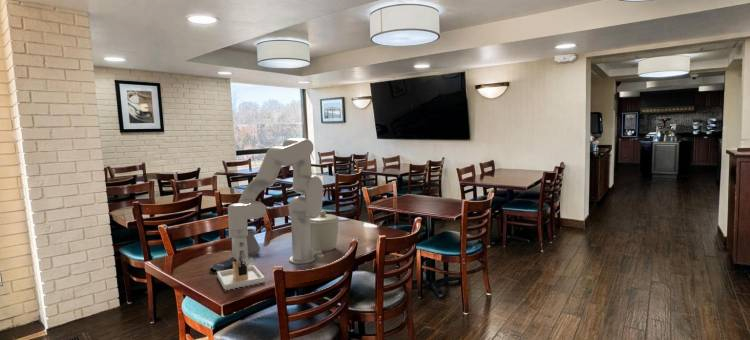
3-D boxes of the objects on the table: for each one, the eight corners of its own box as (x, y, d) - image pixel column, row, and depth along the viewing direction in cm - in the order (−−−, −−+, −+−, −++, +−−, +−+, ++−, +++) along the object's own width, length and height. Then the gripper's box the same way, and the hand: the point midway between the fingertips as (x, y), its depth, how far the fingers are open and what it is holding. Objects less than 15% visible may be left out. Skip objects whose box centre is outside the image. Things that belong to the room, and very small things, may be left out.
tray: (254, 270, 185) (254, 265, 185) (265, 282, 170) (264, 277, 169) (217, 277, 177) (217, 271, 177) (225, 291, 162) (224, 285, 161)
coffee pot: (246, 259, 200) (244, 230, 199) (232, 255, 207) (231, 227, 206) (279, 249, 217) (278, 221, 216) (266, 245, 224) (265, 219, 223)
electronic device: (229, 265, 198) (205, 271, 184) (231, 254, 197) (207, 259, 184) (243, 270, 194) (220, 276, 180) (245, 259, 194) (222, 264, 180)
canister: (317, 256, 204) (316, 215, 202) (300, 248, 218) (299, 210, 216) (347, 249, 215) (346, 210, 213) (328, 242, 229) (327, 205, 227)
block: (245, 275, 177) (244, 259, 176) (248, 278, 173) (247, 263, 172) (233, 277, 174) (232, 261, 174) (235, 281, 170) (235, 265, 169)
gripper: (252, 235, 166) (254, 276, 168) (242, 227, 181) (244, 264, 182) (233, 238, 162) (235, 279, 164) (225, 229, 177) (227, 267, 179)
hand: (240, 271), depth 173 cm, fingers open, 9 cm apart
